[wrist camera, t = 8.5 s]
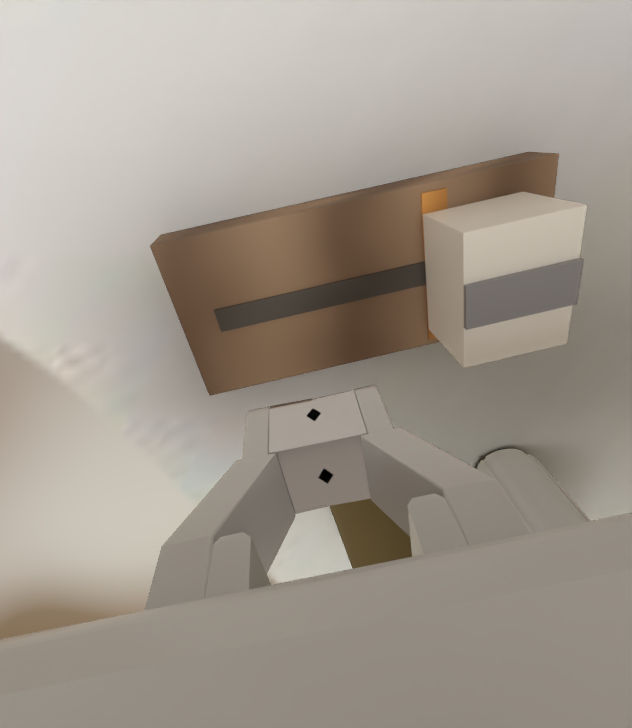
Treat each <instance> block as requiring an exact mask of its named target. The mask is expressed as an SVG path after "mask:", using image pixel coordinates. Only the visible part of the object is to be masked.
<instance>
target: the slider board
mask: <svg viewBox="0 0 632 728" xmlns="http://www.w3.org/2000/svg"><path fill="white" fill-rule="evenodd" d="M558 157H559V154H556V153H538V152H526V153H521V154H517V155H513V156H508V157H504V158H499V159H495V160H490V161H486V162H482V163H477V164H473V165H468V166H464V167H459V168H455V169H451V170H446V171H442V172H437V173H433V174H428V175H424V176H420V177H415V178H411V179H406V180H402V181H397V182H393V183H389V184H384V185H380V186H375V187H371V188H366V189H362V190H358V191H353V192H349V193H344V194H340V195H335V196H331V197H327V198H322V199H318V200H313V201H309V202H304V203H300V204H296V205H291V206H287V207H282V208H278V209H273V210H269V211H265V212H260V213H256V214H251V215H247V216H242V217H238V218H234V219H229V220H225V221H220V222H216V223H211V224H207V225H203V226H198V227H194V228H189V229H185V230H180V231H176V232H172V233H167V234H163V235H160V236H159V237H158V238H157V239H156V240H155V241H154V242H153V244H152V245H151V246H150V247H151V250H152V252H153V255H154V257H155V260H156V262H157V265H158V267H159V270H160V272H161V275H162V277H163V280H164V282H165V285H166V287H167V290H168V292H169V295H170V297H171V300H172V302H173V305H174V308H175V310H176V313H177V315H178V318H179V320H180V323H181V325H182V328H183V330H184V333H185V335H186V338H187V340H188V343H189V345H190V348H191V350H192V353H193V355H194V358H195V360H196V363H197V365H198V368H199V370H200V373H201V375H202V378H203V380H204V383H205V385H206V388H207V390H208V393H209V395H214V394H219V393H223V392H227V391H231V390H236V389H240V388H244V387H248V386H253V385H257V384H261V383H265V382H270V381H274V380H278V379H282V378H287V377H291V376H295V375H300V374H304V373H308V372H312V371H317V370H321V369H325V368H329V367H334V366H338V365H342V364H346V363H351V362H355V361H359V360H364V359H368V358H372V357H376V356H381V355H385V354H389V353H393V352H398V351H402V350H406V349H410V348H415V347H419V346H423V345H428V344H432V343H436V342H440V341H439V340H438V339H437V338H436V337H435V336H434V335H433V334H432V332H431V331H430V330H429V325H428V306H427V286H426V267H425V248H424V228H423V214H427V213H431V212H435V211H440V210H444V209H448V208H453V207H457V206H462V205H466V204H470V203H475V202H479V201H484V200H488V199H492V198H497V197H501V196H506V195H510V194H514V193H519V192H527V193H532V194H537V195H542V196H547V197H552V198H554V195H555V185H556V176H557V166H558Z"/></svg>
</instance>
